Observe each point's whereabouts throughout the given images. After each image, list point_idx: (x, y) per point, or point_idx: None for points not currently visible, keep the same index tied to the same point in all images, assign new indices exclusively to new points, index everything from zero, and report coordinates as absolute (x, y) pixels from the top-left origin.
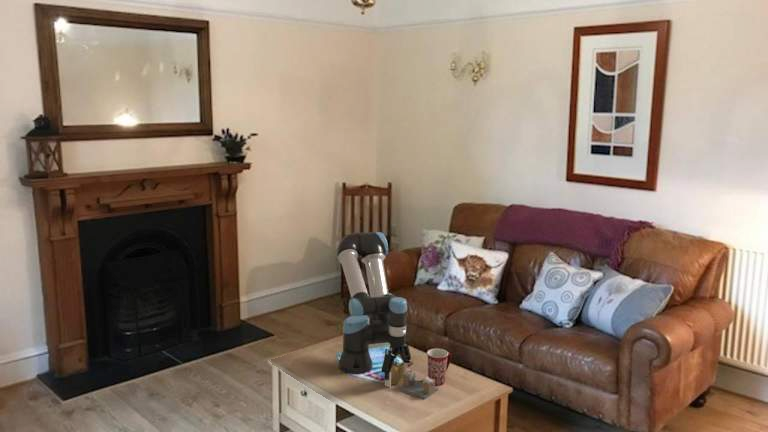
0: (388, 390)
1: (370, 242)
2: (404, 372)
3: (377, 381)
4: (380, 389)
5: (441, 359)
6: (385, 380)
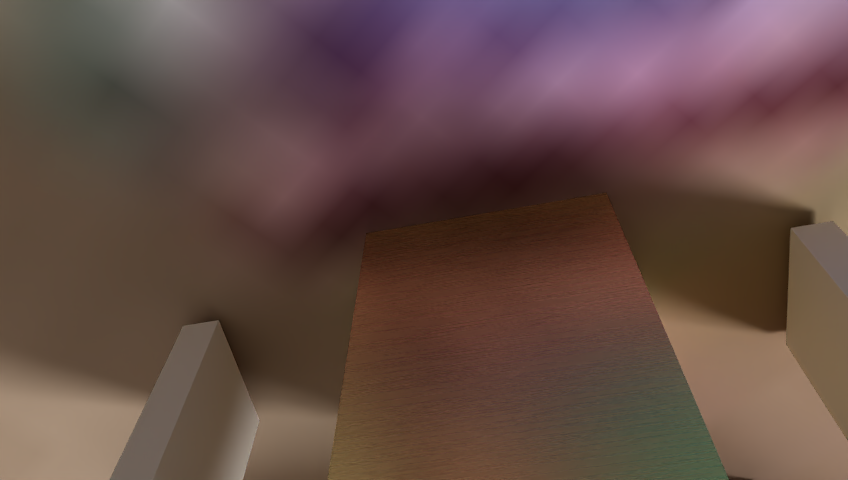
0: None
1: None
2: (838, 383)
3: (152, 75)
4: (29, 366)
5: None
6: (149, 422)
